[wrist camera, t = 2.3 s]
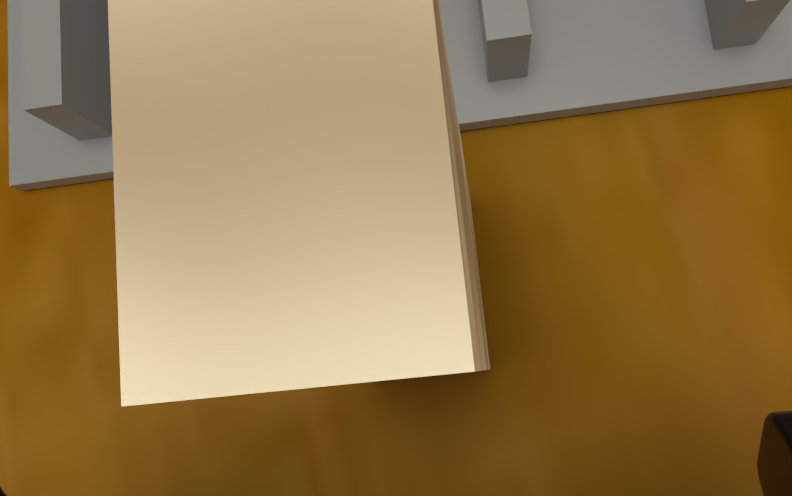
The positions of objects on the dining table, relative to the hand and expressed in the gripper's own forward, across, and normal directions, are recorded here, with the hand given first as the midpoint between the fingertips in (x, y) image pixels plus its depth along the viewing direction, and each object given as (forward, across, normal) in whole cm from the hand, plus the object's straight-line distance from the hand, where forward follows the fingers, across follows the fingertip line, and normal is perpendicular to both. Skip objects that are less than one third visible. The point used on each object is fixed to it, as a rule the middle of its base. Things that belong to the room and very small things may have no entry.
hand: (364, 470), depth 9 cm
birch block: (+10, 0, +5) cm, 11 cm away
